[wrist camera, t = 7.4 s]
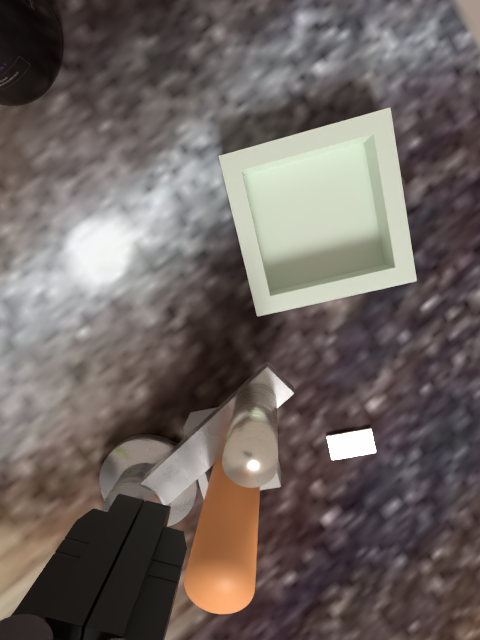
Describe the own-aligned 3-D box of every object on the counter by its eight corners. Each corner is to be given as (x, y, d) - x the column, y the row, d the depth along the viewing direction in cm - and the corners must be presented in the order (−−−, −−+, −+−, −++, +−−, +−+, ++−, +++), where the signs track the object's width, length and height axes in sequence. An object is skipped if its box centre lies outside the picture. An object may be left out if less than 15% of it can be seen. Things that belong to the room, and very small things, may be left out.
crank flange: (381, 484, 26) (385, 493, 25) (121, 524, 29) (116, 535, 28) (364, 391, 25) (367, 398, 24) (92, 443, 28) (86, 450, 27)
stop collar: (280, 465, 27) (280, 486, 25) (209, 477, 27) (203, 499, 25) (263, 398, 26) (262, 413, 24) (190, 412, 26) (182, 428, 24)
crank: (148, 523, 27) (96, 645, 19) (106, 487, 27) (35, 595, 19) (302, 388, 24) (317, 465, 16) (257, 344, 24) (249, 401, 16)
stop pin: (266, 460, 27) (262, 609, 16) (225, 467, 27) (194, 617, 16) (256, 421, 26) (245, 550, 16) (214, 429, 27) (175, 560, 16)
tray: (401, 276, 23) (416, 281, 21) (258, 308, 24) (257, 316, 22) (376, 121, 22) (390, 107, 19) (224, 164, 23) (218, 155, 20)
